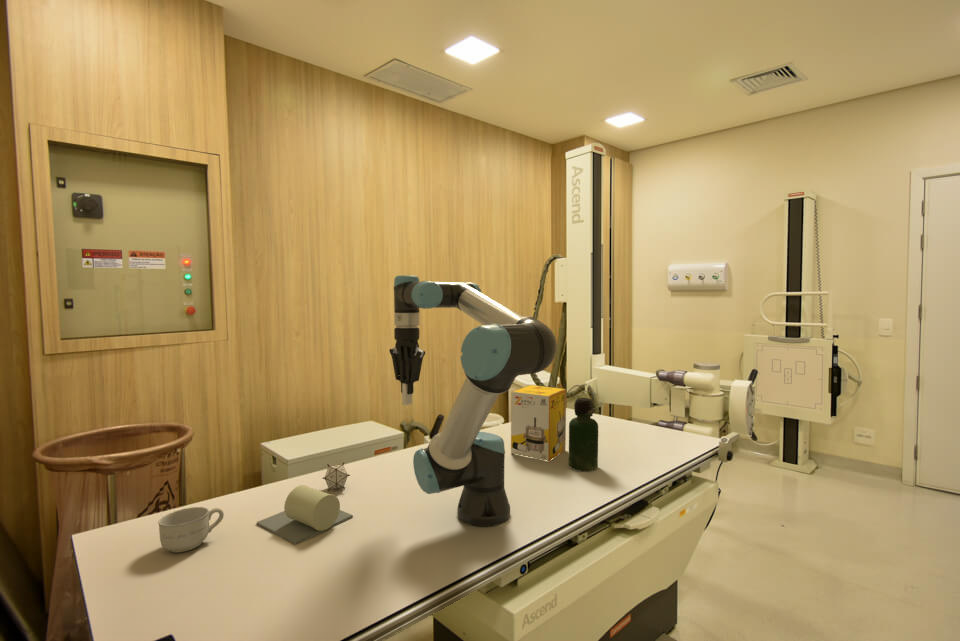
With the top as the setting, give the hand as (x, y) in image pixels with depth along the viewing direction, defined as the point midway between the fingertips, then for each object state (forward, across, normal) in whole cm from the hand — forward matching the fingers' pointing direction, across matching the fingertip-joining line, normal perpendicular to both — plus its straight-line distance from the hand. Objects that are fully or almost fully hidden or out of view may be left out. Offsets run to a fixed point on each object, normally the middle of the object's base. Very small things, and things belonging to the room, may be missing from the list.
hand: (407, 404), depth 145 cm
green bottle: (+30, +33, +57) cm, 72 cm away
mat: (+29, -13, -27) cm, 42 cm away
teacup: (+30, -25, -51) cm, 64 cm away
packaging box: (+30, +12, +62) cm, 70 cm away
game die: (+30, -24, -8) cm, 39 cm away
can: (+24, -3, -27) cm, 37 cm away
